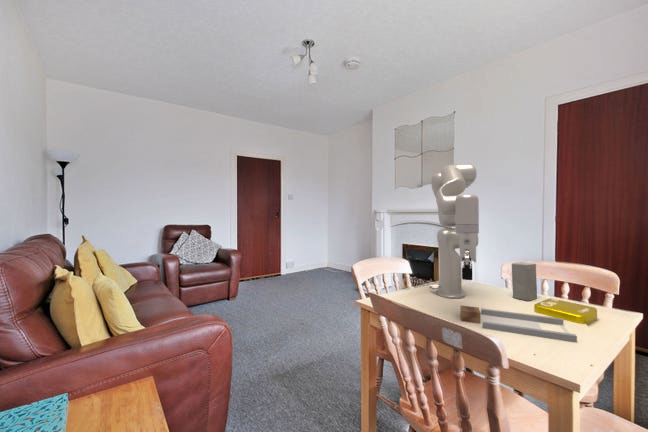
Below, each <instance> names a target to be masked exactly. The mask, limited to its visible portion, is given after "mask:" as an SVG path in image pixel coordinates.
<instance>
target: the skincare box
mask: <svg viewBox="0 0 648 432" xmlns="http://www.w3.org/2000/svg"><path fill="white" fill-rule="evenodd" d="M511 282H512V298H514V299H518V300H522V301H525V302H529V301H532V300H535V299H538V288H537V287H538V285H537V264H536V263H534V262H533V263H531V262H523V261H522V262H513V263H511Z"/></svg>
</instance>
